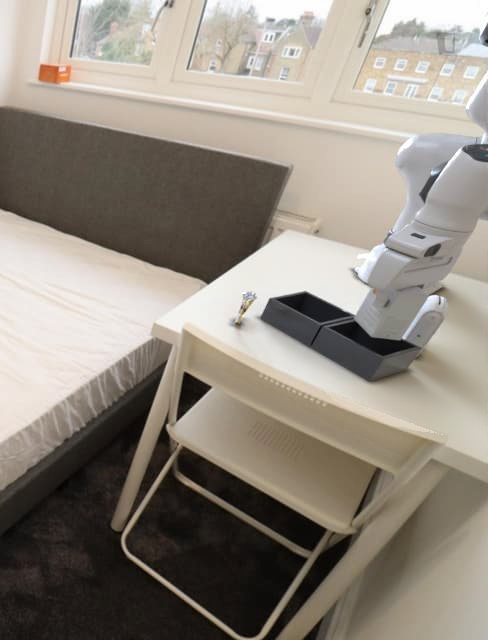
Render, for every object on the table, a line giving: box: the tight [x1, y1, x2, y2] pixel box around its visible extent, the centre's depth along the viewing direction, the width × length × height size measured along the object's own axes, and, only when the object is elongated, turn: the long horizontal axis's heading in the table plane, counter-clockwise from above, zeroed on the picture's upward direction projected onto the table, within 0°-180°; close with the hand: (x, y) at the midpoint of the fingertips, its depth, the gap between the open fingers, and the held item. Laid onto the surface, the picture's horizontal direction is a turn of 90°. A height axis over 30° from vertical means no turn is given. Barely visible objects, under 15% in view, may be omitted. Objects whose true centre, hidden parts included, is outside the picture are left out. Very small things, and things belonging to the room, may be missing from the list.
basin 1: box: [259, 290, 356, 347], centre depth 118 cm, size 13×13×6 cm
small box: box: [354, 286, 431, 340], centre depth 103 cm, size 8×6×10 cm
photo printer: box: [402, 294, 449, 358], centre depth 111 cm, size 10×4×12 cm, turn 140°
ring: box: [234, 290, 258, 324], centre depth 118 cm, size 7×3×8 cm, turn 139°
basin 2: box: [310, 319, 422, 382], centre depth 108 cm, size 13×13×6 cm
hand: (392, 303), depth 102 cm, fingers closed on small box, 8 cm apart
